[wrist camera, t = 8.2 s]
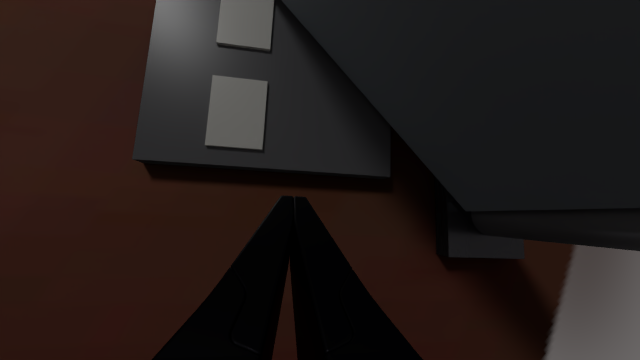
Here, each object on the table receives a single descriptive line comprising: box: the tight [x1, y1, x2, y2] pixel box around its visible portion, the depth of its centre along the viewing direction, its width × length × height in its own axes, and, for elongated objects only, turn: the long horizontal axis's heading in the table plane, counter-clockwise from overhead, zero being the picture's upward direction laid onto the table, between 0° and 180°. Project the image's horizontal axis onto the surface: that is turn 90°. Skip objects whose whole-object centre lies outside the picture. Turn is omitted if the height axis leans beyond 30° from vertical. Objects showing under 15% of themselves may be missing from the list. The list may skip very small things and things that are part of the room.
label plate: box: [132, 0, 391, 179], centre depth 15 cm, size 12×14×1 cm
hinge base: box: [435, 177, 524, 259], centre depth 16 cm, size 5×5×1 cm
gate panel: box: [282, 0, 640, 251], centre depth 10 cm, size 2×20×11 cm, turn 42°
